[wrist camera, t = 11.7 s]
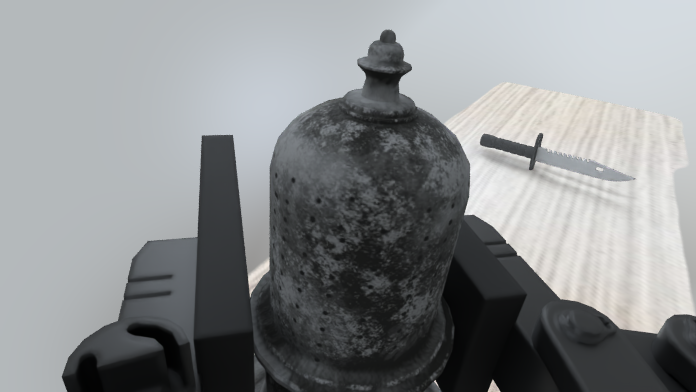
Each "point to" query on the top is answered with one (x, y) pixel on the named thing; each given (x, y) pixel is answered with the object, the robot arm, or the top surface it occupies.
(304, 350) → the salt shaker
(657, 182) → the top surface
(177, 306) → the robot arm
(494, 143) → the knife
